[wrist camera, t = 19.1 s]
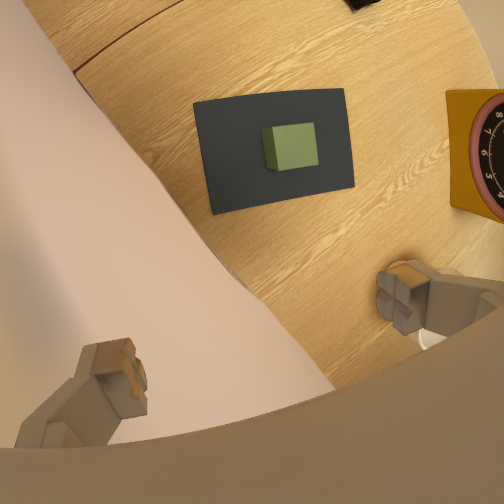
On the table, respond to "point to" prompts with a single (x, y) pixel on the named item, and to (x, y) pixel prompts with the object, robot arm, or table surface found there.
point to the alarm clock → (477, 151)
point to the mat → (252, 149)
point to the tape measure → (362, 3)
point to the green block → (290, 146)
